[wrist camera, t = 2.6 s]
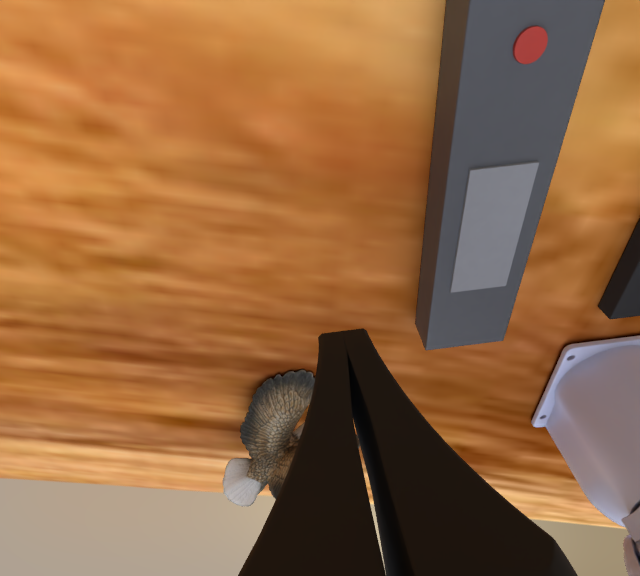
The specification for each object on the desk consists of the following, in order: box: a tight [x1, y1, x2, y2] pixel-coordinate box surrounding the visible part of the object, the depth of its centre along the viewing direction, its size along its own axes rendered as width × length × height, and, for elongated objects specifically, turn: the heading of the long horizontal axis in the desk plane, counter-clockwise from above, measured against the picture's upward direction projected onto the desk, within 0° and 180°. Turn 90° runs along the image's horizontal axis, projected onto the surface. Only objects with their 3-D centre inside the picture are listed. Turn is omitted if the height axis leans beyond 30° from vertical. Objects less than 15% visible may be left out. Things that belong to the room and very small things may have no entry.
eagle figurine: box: [223, 370, 360, 506], centre depth 27 cm, size 8×7×9 cm
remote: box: [415, 0, 605, 350], centre depth 19 cm, size 17×4×2 cm, turn 5°
